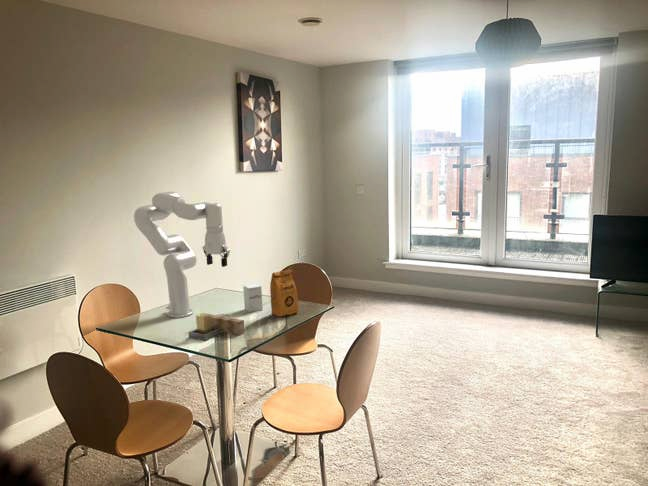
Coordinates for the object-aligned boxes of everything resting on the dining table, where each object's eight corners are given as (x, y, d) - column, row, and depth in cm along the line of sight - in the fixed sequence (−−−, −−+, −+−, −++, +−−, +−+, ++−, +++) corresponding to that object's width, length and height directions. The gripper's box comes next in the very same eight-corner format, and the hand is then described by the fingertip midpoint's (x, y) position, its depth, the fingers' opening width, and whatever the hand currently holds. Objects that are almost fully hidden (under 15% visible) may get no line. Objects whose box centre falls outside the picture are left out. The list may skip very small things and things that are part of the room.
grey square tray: (188, 337, 233) (188, 332, 232) (205, 330, 241) (204, 325, 241) (205, 341, 227) (204, 335, 227) (221, 333, 236) (220, 328, 235)
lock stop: (197, 335, 234) (195, 315, 232) (204, 332, 237) (203, 312, 236) (204, 336, 231) (203, 317, 230) (212, 333, 235) (210, 314, 234)
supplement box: (249, 312, 267) (247, 288, 265) (244, 309, 273) (242, 285, 271) (263, 310, 270) (261, 286, 268) (258, 306, 277) (256, 283, 274)
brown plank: (201, 327, 246) (200, 315, 245) (205, 325, 248) (204, 313, 247) (240, 335, 233) (239, 322, 232) (244, 333, 236) (243, 320, 235)
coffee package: (301, 314, 260) (298, 270, 256) (278, 319, 254) (275, 274, 250) (291, 309, 268) (289, 267, 265) (269, 314, 262) (266, 271, 258)
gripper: (196, 229, 251) (198, 265, 253) (222, 232, 241) (224, 268, 244) (207, 227, 257) (210, 262, 260) (233, 229, 247) (235, 265, 250)
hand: (217, 265), depth 252 cm, fingers open, 9 cm apart
